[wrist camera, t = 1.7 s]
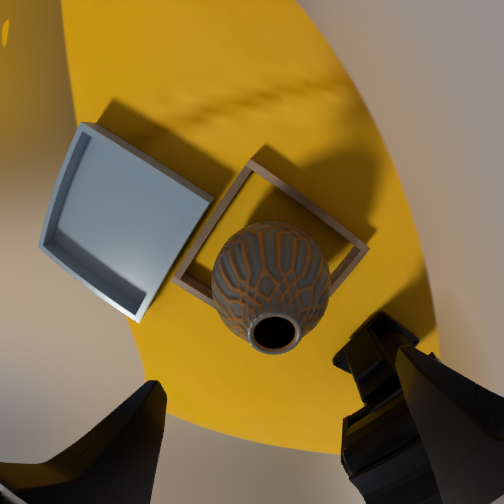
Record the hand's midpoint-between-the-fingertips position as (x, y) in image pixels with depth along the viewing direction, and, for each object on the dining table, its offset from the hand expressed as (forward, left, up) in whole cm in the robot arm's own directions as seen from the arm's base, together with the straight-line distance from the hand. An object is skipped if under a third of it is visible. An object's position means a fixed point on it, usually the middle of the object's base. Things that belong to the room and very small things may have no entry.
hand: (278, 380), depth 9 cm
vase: (0, 0, -12) cm, 12 cm away
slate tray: (+11, +4, -11) cm, 16 cm away
